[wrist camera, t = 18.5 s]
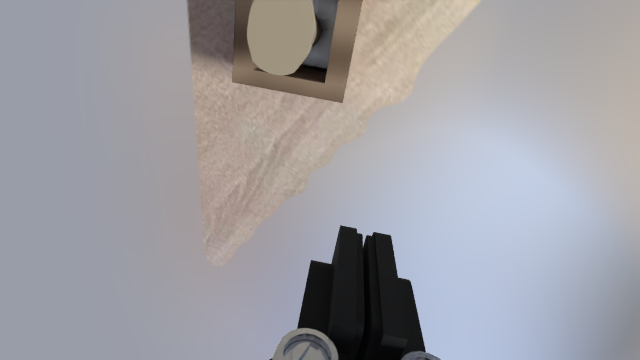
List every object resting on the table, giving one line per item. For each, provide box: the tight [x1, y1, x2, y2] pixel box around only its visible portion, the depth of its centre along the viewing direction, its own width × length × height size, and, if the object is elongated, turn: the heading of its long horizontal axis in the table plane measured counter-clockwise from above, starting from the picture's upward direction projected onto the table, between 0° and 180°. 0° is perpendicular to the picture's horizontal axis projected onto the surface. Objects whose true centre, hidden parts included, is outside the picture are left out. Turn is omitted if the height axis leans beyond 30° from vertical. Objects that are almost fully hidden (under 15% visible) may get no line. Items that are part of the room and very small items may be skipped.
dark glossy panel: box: [302, 0, 339, 69], centre depth 38 cm, size 7×6×1 cm
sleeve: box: [232, 0, 363, 103], centre depth 34 cm, size 11×11×10 cm
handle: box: [247, 0, 322, 75], centre depth 31 cm, size 5×6×15 cm
